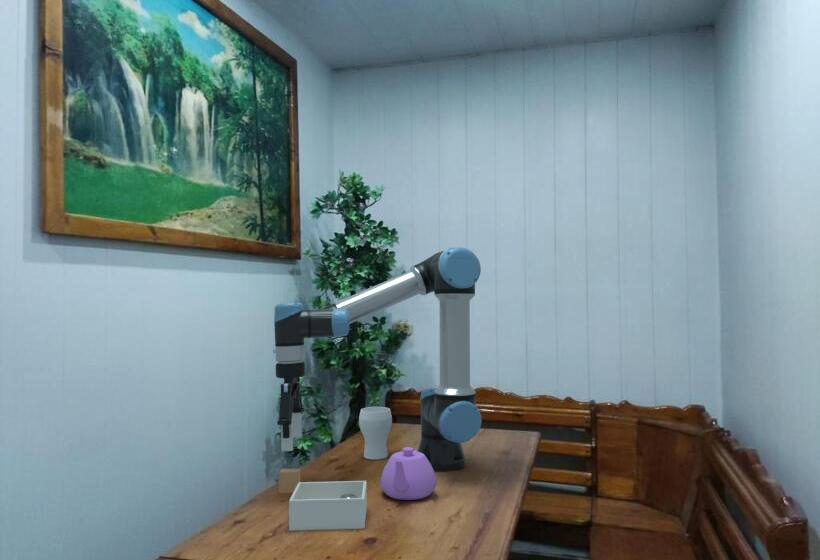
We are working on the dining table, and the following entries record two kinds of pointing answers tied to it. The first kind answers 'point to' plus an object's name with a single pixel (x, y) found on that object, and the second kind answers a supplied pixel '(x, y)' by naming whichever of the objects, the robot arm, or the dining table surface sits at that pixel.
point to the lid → (289, 480)
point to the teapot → (408, 475)
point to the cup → (375, 431)
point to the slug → (348, 496)
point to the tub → (328, 506)
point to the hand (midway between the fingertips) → (292, 443)
